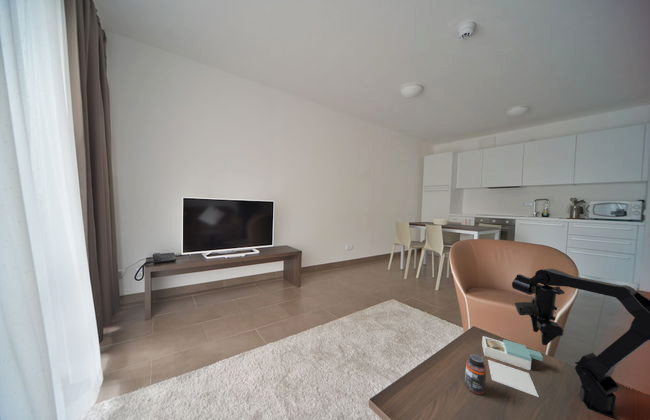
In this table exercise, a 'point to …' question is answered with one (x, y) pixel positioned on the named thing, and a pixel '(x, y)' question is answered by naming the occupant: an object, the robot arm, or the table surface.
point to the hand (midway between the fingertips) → (539, 338)
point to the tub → (503, 354)
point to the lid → (521, 351)
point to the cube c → (494, 345)
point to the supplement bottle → (475, 374)
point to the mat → (512, 377)
